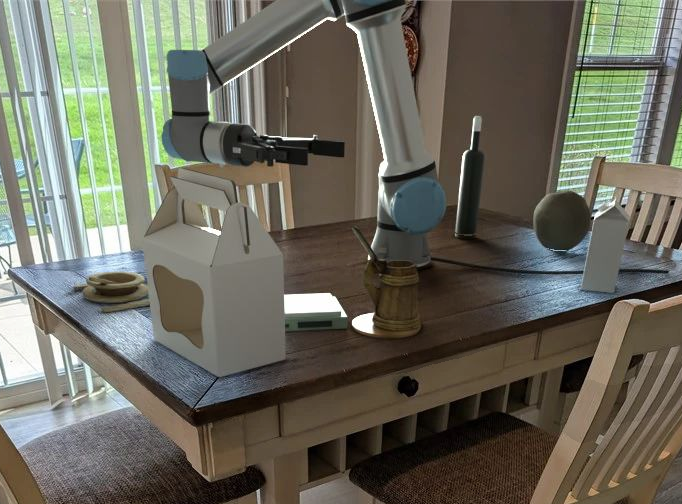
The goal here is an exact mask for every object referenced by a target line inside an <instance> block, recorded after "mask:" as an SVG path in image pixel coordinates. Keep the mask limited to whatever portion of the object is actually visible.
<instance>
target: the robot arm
mask: <svg viewBox="0 0 682 504" xmlns="http://www.w3.org/2000/svg"><path fill="white" fill-rule="evenodd" d="M406 7H407V3H406V0H275V1H273V2H272V3H270V4H269V5H267V6H266V7H264V8H263V9H261V10H260V11H258V12H256V13H255V14H254V15H252V16H251V17H249V18H247V19H246V20H244V21H243V22H242V23H240V24H238V25H237V26H236V27H234V28H233V29H231V30H229V31H228V32H227V33H225V34H224V35H222V36H221V37H219V38H218V39H216V40H215V41H213V42H212V43H210V44H208V45H207V46H205V47H204V48H203V49H201V50H199V49H169V50H168V51H167V52H166V65H167V66H166V67H167V68H166V73H167V77H168V87H169V97H170V105H171V106H170V107H171V118H169V119H167V120H166V121H165V122H164V123H163V125H162V132H161V136H160V137H161V139H160V140H161V145H162V146H163V149H164V151H165V153H166V154H167V155H168V156H170V157H171V158H173V159H177V160H181V161H182V160H183V161H185V162H194V163H195V162H196V163H205V164H206V163H208V164H219V167H220V168H224V167H225V165H227V166H228V165H229V166H234V167H242V168H248V167H251V166H252V165H253V164H254V163H255V162H256V163H260V164H265V163H266V166H267V167H275V165H274V164H286V165H295V166H305V167H306V166H308V165H309V154H312V155H313V156H321V157H330V158H331V157H332V158H333V157H334V158H345V147H346V145H345V143H346V142H345V141H342V140H341V141H340V140H331V139H320V138H319V137H318V135H317V134H313V137H282V136H274V135H268V134H259V135H257V132H256V130H255V128H254V127H253V126H252V125H250V124H247V123H238V122H237V123H235V122H234V123H233V122H228V121H215V120H214V121H211V107H210V95H212V94H213V93H215V92H217V91H218V90H220V89H221V88H223V86H225V85H226V84H228V83H230V82H231V81H233V80H234V79H236V78H238V77H239V76H241V75H242V74H244V73H245V72H247V71H249V70H250V69H252V68H253V67H255V66H256V65H258V64H260V63H261V62H263V61H264V60H266V59H267V58H269V57H270V56H272V55H273V54H275V53H277V52H278V51H279V50H281V49H283V48H285V47H286V46H288V45H289V44H291V43H293V42H294V41H295V40H297V39H298V38H301V36H303V35H304V34H306V33H307V32H309V31H311V30H312V29H314V28H315V27H317V26H319V25H320V24H322V23H323V22H325V21H326V20H330V21H333V22H335V21H337V20H338V19H340V18H342V17H343V16H345V17H344V18H345V22H346V26H347V27H349V28H350V29H352V30H353V31H354V32H355V33H356V34H357V35H356V36H357V41H358V44H359V49H360V54H361V57H362V62H363V67H364V71H365V75H366V81H367V84H368V90H369V94H370V98H371V103H372V108H373V112H374V116H375V121H376V126H377V130H378V134H379V139H380V144H381V148H382V149H381V150H382V153H383V159H384V160H383V161H381V163H380V165H379V172H378V175H377V176H378V197H377V199H378V200H377V201H378V202H377V219H376V222H377V223H376V225H377V226H376V231H375V234H374V237H373V239H372V243H371V244H370V247H371V249H372V250H373V252H374V253H375V254H376V256H377V257H378V259H382V260H386V262H388V261H391V260H410V261H413V262H415V263H416V266H417V271H420V270H425V269H427V268H429V267H430V266H431V265H432V261H433V262H440V263H444V264H450V265H455V266H461V267H467V268H472V269H480V270H487V271H494V272H502V273H503V272H504V273H513V274H526V275H549V276H550V275H552V276H553V275H583V274H584V271H583V270H531V269H530V270H529V269H517V268H506V267H498V266H497V267H496V266H488V265H482V264H475V263H468V262H463V261H457V260H452V259H446V258H442V257H441V258H440V257H435V256H432V254H431V253H432V252H431V248H430V245H429V240H428V236H427V233H428V232H431V231H432V230H433V229H435V228H436V227H437V226H438V225H439V224H440V223H441V222H442V219H443V218H444V215H445V213H446V209H447V198H446V192H445V190H444V188H443V186H442V185H441V183H440V181H439V175H438V171H437V164H436V159H435V156H433V155H432V154H430V153H428V152H427V150H426V146H425V142H424V141H425V139H424V135H423V130H422V125H421V120H420V114H419V108H418V105H417V98H416V94H415V93H416V92H415V88H414V82H413V77H412V73H411V69H410V62H409V57H408V51H407V46H406V41H405V36H404V31H403V26H402V20H401V19H402V15H403V14H404V11H405V9H406ZM370 258H371V257H370V256H369V254H368V257H367V262H368V261H369V259H370ZM618 273H643V274H644V273H645V274H661V275H662V274H664V275H668V274H670V270H669V269H651V268H650V269H649V268H619V272H618Z"/></svg>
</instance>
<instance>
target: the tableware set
mask: <svg viewBox="0 0 682 504" xmlns="http://www.w3.org/2000/svg"><path fill="white" fill-rule="evenodd" d="M85 281H86V283H82V284H75V285H73V290H74V291H81V290H82V291H81V292H82V296H83V297H84V298H85V299H86V300H89V301H91V302H95V303H102V304H103V303H104V304H117V303H124V304H117V305H109V306H103V307H101V309H100V310H101V312H102V313H111V312H117V311H118V312H119V311H124V310H131V309H134V308H135V309H136V308H141V307H142V308H143V307H148V306H150V302H149V298H148V299H143V298H144V297H146V296H148V295H149V293H148V285H147V284H144V282H145V277H144V275H142V274H139V273H136V272H131V271H103V272H98V273H96V274H94V273H93V274H92V275H89V276H87V278H85ZM139 299H142V300H139ZM126 302H127V303H126Z"/></svg>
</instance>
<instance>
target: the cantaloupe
mask: <svg viewBox="0 0 682 504" xmlns="http://www.w3.org/2000/svg"><path fill="white" fill-rule="evenodd" d="M532 224H533V230H534V234H535V237H536V239H537V241H538V242H539V243H540V245H541V246H542V247H543V248H545V249H546V248H549V249H547V251H549V252H553V253H563V252H568V251H570V250H569V249H571V250H572V249H574V248H576V247H577V246H579V244H581V243H582V242H583V241H584V239H585V238H586V236H587V235H588V232H589V230H590V227H591V211H590V208H589V205H588V203H587V200H586V199H585V197H583V195H581V194H579V193H578V192H576V191H573V190H559V191H553V192H550V193H548V194H546V195H545V196H544V197H543V198H542V199H541V200H540V201H539V202H538V204H537V205H536V207H535V209H534V211H533V221H532ZM550 249H554V250H567V251H553V250H550Z"/></svg>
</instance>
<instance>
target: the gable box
mask: <svg viewBox="0 0 682 504" xmlns="http://www.w3.org/2000/svg"><path fill="white" fill-rule="evenodd" d="M169 178H170V180H171V182H172V184H173V186H171V188H170V189H169V190H168V191H167V193H166V194H165V196H164V198H163V200H162V202H161V204H160V206H159V207H158V210H157V211H156V213H155V215H154V217H153V219H152V220H151V223H150V225H149V227H148V228H147V230H146V232H145V234H144V236H143V237H142V238H141V243H142V244H141V245H142V253H143V261H144V268H145V276H146V283H147V284H146V286H148V299H149V302H150V305H149V308H150V318H151V325H152V333H153V334H152V335H153V339H154V341H156V342H157V343H159V344H161V345H162V346H164V347H166V348H168V349H169V350H171V351H173V352H174V353H176V354H177V355H179V356H181V357H183V358H185V359H187V360H188V361H190V362H192V363H193V364H195V365H197V366H199V367H200V368H202V369H203V370H206V371H207V372H209V373H210V374H212V375H213V376H216V377H217V378H219V379H220V378H224V377H227V376H230V375H235V374H239V373H242V372H246V371H249V370H252V369H257V368H260V367H264V366H267V365H271V364H275V363H278V362H282V361H285V360H286V359H287V354H286V353H287V352H286V331H285V305H284V295H285V268H284V265H285V264H284V253H283V252H282V251H281V250H280V248H279V246H278V245H277V243H276V242H275V241H274V239H273V238H272V236H271V235H270V233H269V232H268V230H267V229H266V227H265V226H264V225H263V223H262V221H261V220H260V218H259V217H258V216H257V214H256V213H255V212H254V210H253V209H252V208H251V206H249V204H246V203H244V202H239V198H238V191H237V190H238V189H237V185H236V183H235V181H234V180H233V179H229V178H226V177H221V176H217V175H213V174H209V173H205V172H202V171H197V170H193V169H189V168H185V167H179V168H178V170H177V176H174V175H170V176H169ZM198 204H199V205H202V206H205V207H209V208H212V209H215V210H219V211H222V212H225V215H224V217H223V222H222V225H221V229H220V230H217V229H214V228H210V226H209V224H208V223H207V220H206V218H205V217H204V215H203V213H202V210H201V208H200V207H199V205H198Z"/></svg>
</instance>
